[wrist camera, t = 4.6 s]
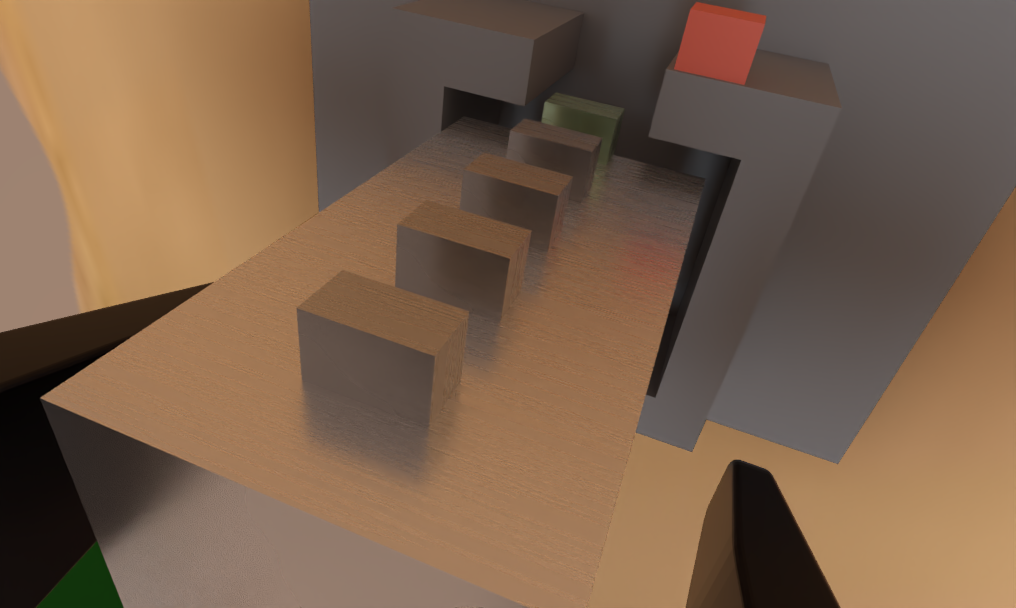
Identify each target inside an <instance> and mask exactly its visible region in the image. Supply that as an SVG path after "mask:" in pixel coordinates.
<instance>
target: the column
mask: <svg viewBox="0 0 1016 608" xmlns="http://www.w3.org/2000/svg"><path fill="white" fill-rule="evenodd" d="M624 111H625V109H623V108H619V107H615V106H611V105H607V104H603V103H598V102H594V101H590V100H586V99H582V98H578V97H573V96H569V95H565V94H561V93H557V92H556V93H555V94H554V95H552V96H551V97H550V98H549V99H548V100H546V101H545V103H544V109H543V115H542V121H541V122H538V121H534V120H530V119H526V118H525V119H524V120H522V121H521V122H520V123H519V124H517V125H516V126H515V127H514V128H513V129H511V128H507V127H503V126H499V125H495V124H492V123H488V122H484V121H480V120H476V119H472V118H468V117H462V118H461V119H459V120H458V121H456V122H455V123H453V124H452V125H450V126H449V127H447V128H446V129H444V130H443V131H441V132H440V133H438V134H437V135H435V136H434V137H432V138H431V139H429V140H428V141H426V142H425V143H423V144H422V145H420V146H419V147H417V148H416V149H414V150H413V151H411V152H410V153H408V154H407V155H405V156H404V157H402V158H401V159H399V160H398V161H396V162H395V163H393V164H392V165H390V166H388V167H387V168H385V169H384V170H382V171H381V172H379V173H378V174H376V175H375V176H373V177H372V178H370V179H369V180H367V181H366V182H364V183H363V184H361V185H360V186H358V187H357V188H355V189H354V190H352V191H351V192H349V193H348V194H346V195H345V196H343V197H342V198H340V199H339V200H337V201H336V202H334V203H333V204H331V205H330V206H328V207H327V208H325V209H324V210H322V211H321V212H319V213H318V214H316V215H315V216H313V217H312V218H310V219H309V220H307V221H306V222H304V223H303V224H301V225H300V226H298V227H297V228H295V229H294V230H292V231H291V232H289V233H288V234H286V235H285V236H283V237H282V238H280V239H279V240H277V241H276V242H274V243H273V244H271V245H270V246H268V247H267V248H265V249H264V250H262V251H261V252H259V253H258V254H256V255H254V256H253V257H251V258H250V259H248V260H247V261H245V262H244V263H242V264H241V265H239V266H238V267H236V268H235V269H233V270H232V271H230V272H229V273H227V274H226V275H224V276H223V277H221V278H220V279H218V280H217V281H215V282H214V283H212V284H211V285H209V286H208V287H206V288H205V289H203V290H202V291H200V292H199V293H197V294H196V295H194V296H193V297H191V298H190V299H188V300H187V301H185V302H184V303H182V304H181V305H179V306H178V307H176V308H175V309H173V310H172V311H170V312H169V313H167V314H166V315H164V316H163V317H161V318H160V319H158V320H157V321H155V322H154V323H152V324H151V325H149V326H148V327H146V328H145V329H143V330H142V331H140V332H139V333H137V334H136V335H134V336H133V337H131V338H130V339H128V340H127V341H125V342H124V343H122V344H120V345H119V346H117V347H116V348H114V349H113V350H111V351H110V352H108V353H107V354H105V355H104V356H102V357H101V358H99V359H98V360H96V361H95V362H93V363H92V364H90V365H89V366H87V367H86V368H84V369H83V370H81V371H80V372H78V373H77V374H75V375H74V376H72V377H71V378H69V379H68V380H66V381H65V382H63V383H62V384H60V385H59V386H57V387H56V388H54V389H53V390H51V391H50V392H48V393H47V394H45V395H44V396H42V397H41V398H40V400H41V402H42V405H43V407H44V410H45V412H46V415H47V417H48V420H49V422H50V425H51V427H52V430H53V432H54V435H55V437H56V440H57V442H58V445H59V447H60V450H61V452H62V455H63V457H64V460H65V462H66V465H67V467H68V470H69V472H70V474H71V477H72V479H73V482H74V484H75V487H76V489H77V492H78V494H79V497H80V499H81V502H82V504H83V507H84V509H85V512H86V514H87V517H88V519H89V522H90V524H91V527H92V529H93V532H94V534H95V537H96V539H97V542H98V544H99V547H100V549H101V552H102V554H103V557H104V559H105V562H106V564H107V567H108V569H109V572H110V574H111V577H112V579H113V582H114V584H115V587H116V589H117V592H118V594H119V597H120V599H121V602H122V604H123V607H124V608H587V605H588V601H589V598H590V594H591V591H592V587H593V583H594V580H595V576H596V573H597V569H598V565H599V562H600V558H601V555H602V551H603V547H604V544H605V540H606V537H607V533H608V529H609V526H610V522H611V518H612V515H613V511H614V508H615V504H616V500H617V497H618V493H619V490H620V486H621V482H622V479H623V475H624V472H625V468H626V464H627V461H628V457H629V454H630V450H631V446H632V443H633V439H634V435H635V432H636V428H637V425H638V421H639V417H640V414H641V410H642V407H643V403H644V399H645V396H646V392H647V389H648V385H649V381H650V378H651V374H652V371H653V367H654V363H655V360H656V356H657V352H658V349H659V345H660V342H661V338H662V334H663V331H664V327H665V324H666V320H667V316H668V313H669V309H670V306H671V302H672V298H673V295H674V291H675V288H676V284H677V280H678V277H679V273H680V270H681V266H682V262H683V259H684V255H685V251H686V248H687V244H688V241H689V237H690V233H691V230H692V226H693V223H694V219H695V215H696V212H697V208H698V205H699V201H700V197H701V194H702V190H703V187H704V183H705V178H702V177H698V176H694V175H690V174H686V173H682V172H678V171H674V170H670V169H667V168H663V167H659V166H655V165H651V164H647V163H643V162H639V161H635V160H632V159H628V158H624V157H620V156H616V155H613V154H614V153H615V149H616V145H617V140H618V136H619V132H620V128H621V124H622V119H623V115H624Z"/></svg>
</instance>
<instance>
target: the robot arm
mask: <svg viewBox="0 0 1016 608" xmlns="http://www.w3.org/2000/svg"><path fill="white" fill-rule="evenodd" d="M212 283H214V282H212ZM212 283H208V284H204V285H199V286H195V287H191V288H187V289H183V290H178V291H174V292H170V293H166V294H161V295H157V296H153V297H149V298H144V299H140V300H136V301H132V302H128V303H123V304H119V305H115V306H111V307H106V308H102V309H98V310H94V311H90V312H85V313H81V314H77V315H73V316H69V317H64V318H61V319H56V320H51V321H48V322H43V323H39V324H35V325H30V326H26V327H22V328H18V329H13V330H10V331H5V332H1V333H0V608H36V607H37V606H38V605H39V604H40V603H41V602H42V601H43V599H44V598H45V597H46V596H47V595H48V594H49V593H50V592H51V591H52V590H53V589H54V587H55V586H56V585H57V584H58V583H59V582H60V581H61V580H62V579H63V578H64V576H65V575H66V574H67V573H68V572H69V571H70V570H71V569H72V568H73V567H74V566H75V564H76V563H77V562H78V561H79V560H80V559H81V558H82V557H83V556H84V555H85V554H86V552H87V551H88V550H89V549H90V548H91V547H92V546H93V545H94V544H95V543H96V541H97V539H96V537H95V534H94V532H93V529H92V527H91V524H90V522H89V519H88V517H87V514H86V512H85V509H84V507H83V504H82V502H81V499H80V497H79V494H78V492H77V489H76V487H75V484H74V482H73V479H72V477H71V474H70V472H69V470H68V467H67V465H66V462H65V460H64V457H63V455H62V452H61V450H60V447H59V445H58V442H57V440H56V437H55V435H54V432H53V430H52V427H51V425H50V422H49V420H48V417H47V415H46V412H45V410H44V407H43V405H42V402H41V400H40V398H41V397H42V396H44V395H45V394H47V393H48V392H50V391H51V390H53V389H54V388H56V387H57V386H59V385H60V384H62V383H63V382H65V381H66V380H68V379H69V378H71V377H72V376H74V375H75V374H77V373H78V372H80V371H81V370H83V369H84V368H86V367H87V366H89V365H90V364H92V363H93V362H95V361H96V360H98V359H99V358H101V357H102V356H104V355H105V354H107V353H108V352H110V351H111V350H113V349H114V348H116V347H117V346H119V345H120V344H122V343H124V342H125V341H127V340H128V339H130V338H131V337H133V336H134V335H136V334H137V333H139V332H140V331H142V330H143V329H145V328H146V327H148V326H149V325H151V324H152V323H154V322H155V321H157V320H158V319H160V318H161V317H163V316H164V315H166V314H167V313H169V312H170V311H172V310H173V309H175V308H176V307H178V306H179V305H181V304H182V303H184V302H185V301H187V300H188V299H190V298H191V297H193V296H194V295H196V294H197V293H199V292H200V291H202V290H203V289H205V288H206V287H208V286H209V285H211V284H212ZM686 608H840V606H839V604H838V602H837V600H836V598H835V596H834V594H833V592H832V590H831V588H830V586H829V584H828V582H827V580H826V578H825V576H824V574H823V572H822V571H821V569H820V567H819V565H818V563H817V561H816V559H815V557H814V555H813V553H812V551H811V549H810V547H809V545H808V543H807V541H806V539H805V537H804V535H803V534H802V532H801V530H800V528H799V526H798V524H797V522H796V520H795V518H794V516H793V514H792V512H791V510H790V508H789V506H788V504H787V502H786V500H785V498H784V497H783V495H782V493H781V491H780V489H779V487H778V485H777V483H776V481H775V479H774V477H773V475H772V474H771V473H770V472H769V471H768V470H766V469H764V468H761V467H759V466H756V465H753V464H750V463H747V462H744V461H741V460H733V461H732V462H730V464H729V465H728V467H727V469H726V471H725V473H724V475H723V477H722V479H721V481H720V483H719V485H718V487H717V489H716V491H715V493H714V495H713V497H712V499H711V501H710V503H709V506H708V509H707V511H706V515H705V518H704V522H703V527H702V532H701V537H700V541H699V546H698V551H697V556H696V560H695V565H694V570H693V575H692V580H691V584H690V589H689V594H688V599H687V603H686Z"/></svg>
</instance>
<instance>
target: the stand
mask: <svg viewBox="0 0 1016 608" xmlns="http://www.w3.org/2000/svg"><path fill="white" fill-rule="evenodd" d="M309 1H310V24H311V46H312V68H313V90H314V112H315V135H316V157H317V179H318V201H319V212H321V211H322V210H324V209H325V208H327V207H328V206H330V205H331V204H333V203H334V202H336V201H337V200H339V199H340V198H342V197H343V196H345V195H346V194H348V193H349V192H351V191H352V190H354V189H355V188H357V187H358V186H360V185H361V184H363V183H364V182H366V181H367V180H369V179H370V178H372V177H373V176H375V175H376V174H378V173H379V172H381V171H382V170H384V169H385V168H387V167H388V166H390V165H392V164H393V163H395V162H396V161H398V160H399V159H401V158H402V157H404V156H405V155H407V154H408V153H410V152H411V151H413V150H414V149H416V148H417V147H419V146H420V145H422V144H423V143H425V142H426V141H428V140H429V139H431V138H432V137H434V136H435V135H437V134H438V133H440V132H441V131H443V130H444V129H446V128H447V127H449V126H450V125H452V124H453V123H455V122H456V121H458V120H459V119H461V118H462V117H468V118H472V119H476V120H480V121H484V122H488V123H492V124H495V125H499V126H503V127H507V128H511V129H513V128H514V127H515V126H516V125H517V124H519V123H520V122H521V121H522V120H524V119H525V118H526V119H530V120H534V121H538V122H541V121H542V115H543V109H544V103H545V101H546V100H548V99H549V98H550V97H551V96H552V95H554V94H555V93H556V92H557V93H561V94H565V95H569V96H573V97H578V98H582V99H586V100H590V101H594V102H598V103H603V104H607V105H611V106H615V107H619V108H623V109H625V111H624V115H623V119H622V124H621V128H620V132H619V136H618V140H617V145H616V149H615V153H614V154H613V155H616V156H620V157H624V158H628V159H632V160H635V161H639V162H643V163H647V164H651V165H655V166H659V167H663V168H667V169H670V170H674V171H678V172H682V173H686V174H690V175H694V176H698V177H702V178H705V183H704V187H703V190H702V194H701V197H700V201H699V205H698V208H697V212H696V215H695V219H694V223H693V226H692V230H691V233H690V237H689V241H688V244H687V248H686V251H685V255H684V259H683V262H682V266H681V270H680V273H679V277H678V280H677V284H676V288H675V291H674V295H673V298H672V302H671V306H670V309H669V313H668V316H667V320H666V324H665V327H664V331H663V334H662V338H661V342H660V345H659V349H658V352H657V356H656V360H655V363H654V367H653V371H652V374H651V378H650V381H649V385H648V389H647V392H646V396H645V399H644V403H643V407H642V410H641V414H640V417H639V421H638V425H637V428H636V433H639V434H642V435H645V436H648V437H650V438H653V439H656V440H659V441H662V442H665V443H668V444H670V445H673V446H676V447H679V448H682V449H685V450H687V451H690V452H692V451H693V449H694V446H695V444H696V442H697V440H698V437H699V435H700V433H701V430H702V428H703V426H704V424H705V421H706V419H707V420H710V421H713V422H715V423H718V424H721V425H724V426H727V427H730V428H733V429H736V430H739V431H742V432H745V433H748V434H751V435H754V436H757V437H760V438H763V439H766V440H769V441H772V442H774V443H777V444H780V445H783V446H786V447H789V448H792V449H795V450H798V451H801V452H804V453H807V454H810V455H813V456H816V457H819V458H822V459H825V460H828V461H831V462H833V463H836V464H838V463H839V462H840V460H841V459H842V457H843V455H844V454H845V452H846V451H847V449H848V448H849V446H850V444H851V443H852V441H853V440H854V438H855V437H856V435H857V434H858V432H859V430H860V429H861V427H862V426H863V424H864V423H865V421H866V419H867V418H868V416H869V415H870V413H871V412H872V410H873V409H874V407H875V405H876V404H877V402H878V401H879V399H880V398H881V396H882V394H883V393H884V391H885V390H886V388H887V387H888V385H889V384H890V382H891V380H892V379H893V377H894V376H895V374H896V373H897V371H898V369H899V368H900V366H901V365H902V363H903V362H904V360H905V359H906V357H907V355H908V354H909V352H910V351H911V349H912V348H913V346H914V344H915V343H916V341H917V340H918V338H919V337H920V335H921V334H922V332H923V330H924V329H925V327H926V326H927V324H928V323H929V321H930V319H931V318H932V316H933V315H934V313H935V312H936V310H937V309H938V307H939V305H940V304H941V302H942V301H943V299H944V298H945V296H946V294H947V293H948V291H949V290H950V288H951V287H952V285H953V284H954V282H955V280H956V279H957V277H958V276H959V274H960V273H961V271H962V269H963V268H964V266H965V265H966V263H967V262H968V260H969V259H970V257H971V255H972V254H973V252H974V251H975V249H976V248H977V246H978V244H979V243H980V241H981V240H982V238H983V237H984V235H985V234H986V232H987V230H988V229H989V227H990V226H991V224H992V223H993V221H994V219H995V218H996V216H997V215H998V213H999V212H1000V210H1001V209H1002V207H1003V205H1004V204H1005V202H1006V201H1007V199H1008V198H1009V196H1010V194H1011V193H1012V191H1013V190H1014V188H1015V187H1016V0H309Z"/></svg>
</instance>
